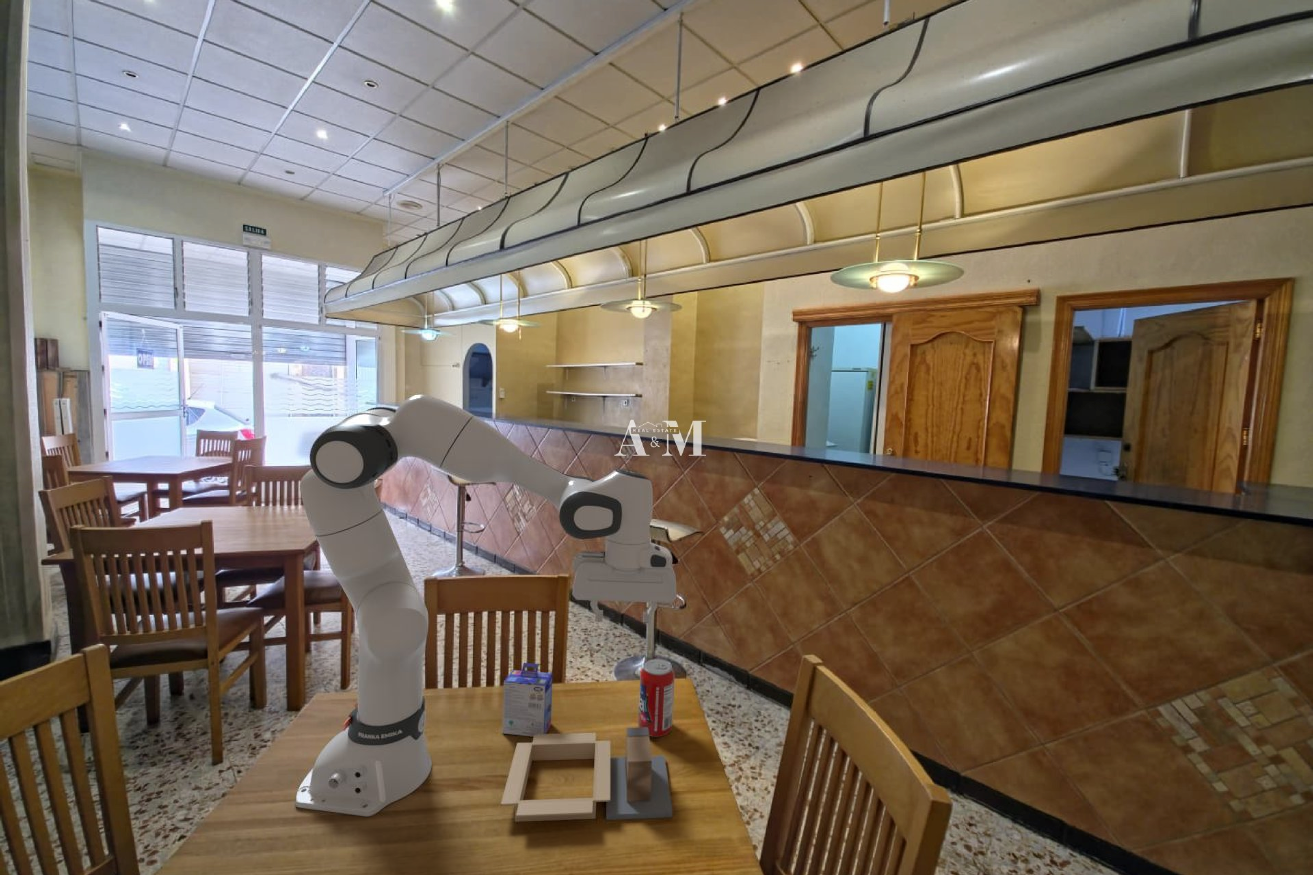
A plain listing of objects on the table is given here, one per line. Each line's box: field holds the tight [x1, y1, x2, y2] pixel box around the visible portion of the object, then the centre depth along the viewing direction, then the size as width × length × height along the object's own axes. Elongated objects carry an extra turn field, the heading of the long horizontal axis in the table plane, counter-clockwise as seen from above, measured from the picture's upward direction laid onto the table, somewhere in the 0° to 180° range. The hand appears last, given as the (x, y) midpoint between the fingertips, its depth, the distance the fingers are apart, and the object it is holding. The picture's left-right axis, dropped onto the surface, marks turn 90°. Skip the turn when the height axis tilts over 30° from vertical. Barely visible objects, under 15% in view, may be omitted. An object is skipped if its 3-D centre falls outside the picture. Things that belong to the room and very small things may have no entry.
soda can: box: [638, 658, 676, 738], centre depth 112 cm, size 8×8×15 cm
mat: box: [605, 755, 674, 821], centre depth 95 cm, size 12×14×1 cm
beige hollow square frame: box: [500, 732, 611, 823], centre depth 95 cm, size 19×20×4 cm
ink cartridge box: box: [501, 662, 553, 738], centre depth 110 cm, size 10×6×14 cm, turn 84°
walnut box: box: [625, 726, 652, 802], centre depth 95 cm, size 4×9×8 cm, turn 5°
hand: (622, 621), depth 96 cm, fingers open, 8 cm apart
